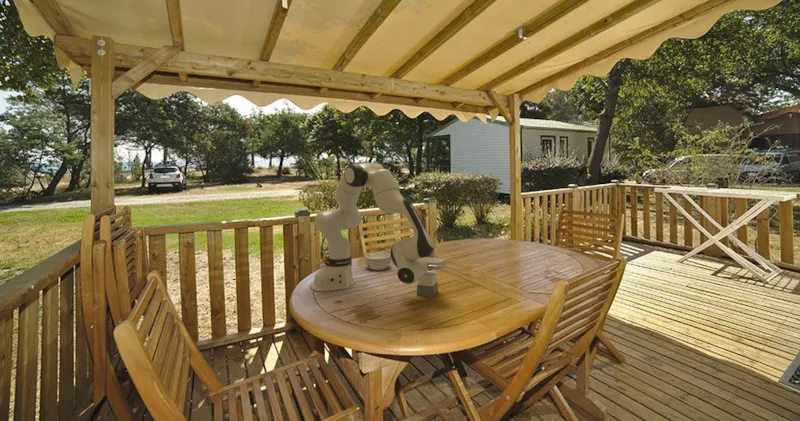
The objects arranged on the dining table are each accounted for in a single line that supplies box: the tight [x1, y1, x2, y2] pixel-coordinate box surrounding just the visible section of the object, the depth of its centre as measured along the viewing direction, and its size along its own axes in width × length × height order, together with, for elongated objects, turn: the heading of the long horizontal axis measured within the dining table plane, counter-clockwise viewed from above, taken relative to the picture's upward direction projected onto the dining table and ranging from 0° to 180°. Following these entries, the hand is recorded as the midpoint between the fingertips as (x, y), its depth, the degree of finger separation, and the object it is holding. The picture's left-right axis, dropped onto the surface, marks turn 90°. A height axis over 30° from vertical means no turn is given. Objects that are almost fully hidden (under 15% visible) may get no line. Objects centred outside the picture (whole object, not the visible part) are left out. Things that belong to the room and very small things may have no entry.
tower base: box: [416, 281, 439, 298], centre depth 174 cm, size 8×8×5 cm
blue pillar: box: [428, 249, 435, 271], centre depth 172 cm, size 5×5×9 cm
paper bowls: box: [364, 252, 392, 271], centre depth 216 cm, size 15×15×8 cm
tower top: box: [417, 270, 438, 287], centre depth 173 cm, size 7×7×5 cm
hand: (427, 258), depth 172 cm, fingers closed on blue pillar, 5 cm apart
